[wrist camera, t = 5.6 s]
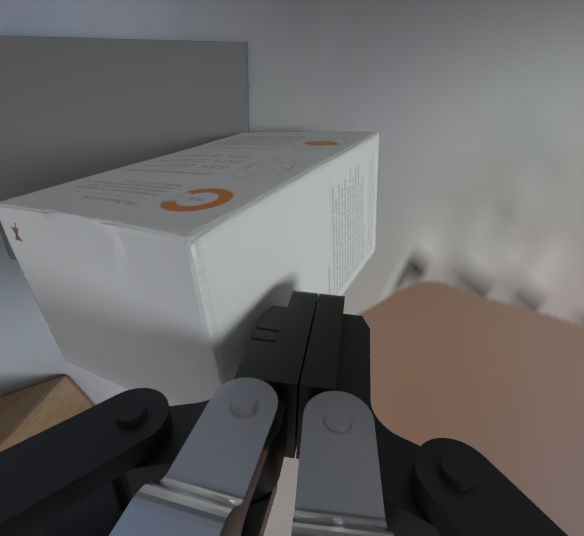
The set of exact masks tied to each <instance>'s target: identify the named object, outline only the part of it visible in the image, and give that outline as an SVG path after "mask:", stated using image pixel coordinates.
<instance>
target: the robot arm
mask: <svg viewBox="0 0 584 536" xmlns="http://www.w3.org/2000/svg"><path fill="white" fill-rule="evenodd" d="M344 299H345V296H338V295H330V294H321V293H320V294H319V295H318V293H312V292H303V291H294V290H293V292H292V295H291V298H290V300H289V303H288V306H287V307H282V306H274V305H273V306H272V307H270V308H269V309H268V310H267V311H265V312H264V313H263V314H262V315H261V317H260V319H259V321H258V324H257V326H256V330H255V331H254V333H253V335H252V338H251V340H250V342H249V344H248V347H247V349H246V351H245V353H244V356H243V358H242V360H241V363H240V365H239V367H238V370H237V372H236V374H235V376H234V379H233V380H231V381H228V382H227V383H225V384H223V385H222V386H220V387H219V388H218V389H217V390H216V391H215V393H214V394H213V395H212V397H211V399H209V400H206V401H203V402H198V403H191V404H183V405H174V406H169V403H168V400H167V398H166V397H165V396H164V394H163V393H161V392H159V391H157V390H155V389H151V388H136V389H131V390H128V391H125V392H122V393H120V394H118V395H116V396H114V397H112V398H109V399H107V400H105V401H103V402H101V403H99V404H97V405H95V406H93V407H91V408H89V409H87V410H85V411H83V412H81V413H79V414H77V415H75V416H73V417H71V418H69V419H67V420H64V421H62V422H60V423H58V424H56V425H54V426H52V427H50V428H48V429H46V430H44V431H42V432H40V433H38V434H36V435H34V436H32V437H30V438H28V439H26V440H24V441H22V442H19V443H17V444H15V445H13V446H11V447H9V448H7V449H5V450H3V451H1V452H0V536H263V535H264V532H265V528H266V525H267V522H268V518H269V515H270V511H271V508H272V505H273V501H274V498H275V495H276V491H277V482H278V480H279V477H280V472H281V467H282V463H283V459H284V457H290V458H294V457H295V452H296V446H297V453H296V458H297V459H299V468H298V479H297V490H296V500H295V511H294V518H293V524H292V533H291V536H568V535H567V534H566V533H565V532H563V531H562V530H561V529H560V528H559V527H558V526H557V525H556V524H555V523H554V522H553V521H552V520H551V519H550V518H549V517H548V516H546V515H545V514H544V513H543V512H542V511H541V510H540V509H539V508H538V507H537V506H536V505H535V504H534V503H533V502H532V501H531V500H530V499H528V498H527V497H526V496H525V495H524V494H523V493H522V492H521V491H520V490H519V489H518V488H517V487H516V486H515V485H514V484H513V483H511V481H510V480H508V479H507V478H506V477H505V476H504V475H503V474H502V473H501V472H500V471H499V470H498V469H497V468H496V467H495V466H494V465H492V464H491V463H490V462H489V461H488V460H487V459H486V458H485V457H484V456H483V455H482V454H481V453H479V452H478V451H477V450H475V449H474V448H472V447H471V446H469V445H467V444H465V443H463V442H460V441H457V440H454V439H449V438H436V439H431V440H429V441H427V442H425V443H424V444H422V446H419V445H417V444H415V443H412V442H410V441H408V440H406V439H404V438H401V437H399V436H398V435H396V434H394V433H392V432H391V431H389V430H388V429H387V428H386V427H385V426H383V425H382V423H381V422H380V421H379V420H378V419H377V417H376V416H375V414H374V412H373V410H372V407H371V401H370V328H369V327H368V325H367V324H366V322H365V320H364V319H363V317H362V316H357V315H349V314H343V309H344Z"/></svg>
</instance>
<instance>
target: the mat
mask: <svg viewBox="0 0 584 536" xmlns="http://www.w3.org/2000/svg"><path fill="white" fill-rule="evenodd" d="M243 132H249V102H248V57H247V43H246V42H212V41H175V40H138V39H101V38H65V37H28V36H0V202H1V201H4V200H8V199H11V198H14V197H18V196H22V195H26V194H29V193H32V192H36V191H39V190H43V189H46V188H50V187H53V186H57V185H60V184H64V183H67V182H71V181H74V180H78V179H82V178H85V177H89V176H92V175H96V174H99V173H102V172H106V171H109V170H113V169H117V168H120V167H124V166H127V165H131V164H135V163H138V162H142V161H146V160H150V159H154V158H157V157H161V156H165V155H168V154H172V153H175V152H179V151H183V150H186V149H190V148H193V147H197V146H200V145H203V144H206V143H209V142H212V141H216V140H219V139H223V138H226V137H230V136H233V135H237V134H239V133H243ZM0 231H1V234H2V236H3V239H4V242H5V245H6V247H7V250H8V253H9V256H10V258H11V259H16V256H15V254H14V252H13V250H12V248H11V245H10V243H9V241H8V238H7V236H6V234H5V231H4V229H3V226H2V224H1V222H0Z"/></svg>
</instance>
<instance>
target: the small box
mask: <svg viewBox="0 0 584 536" xmlns="http://www.w3.org/2000/svg"><path fill="white" fill-rule="evenodd" d="M378 150H379V134H378V133H377V132H243V133H239V134H237V135H233V136H230V137H226V138H223V139H219V140H216V141H212V142H209V143H206V144H203V145H200V146H197V147H193V148H190V149H186V150H183V151H179V152H175V153H172V154H168V155H165V156H161V157H157V158H154V159H150V160H146V161H142V162H138V163H135V164H131V165H127V166H124V167H120V168H117V169H113V170H109V171H106V172H102V173H99V174H96V175H92V176H89V177H85V178H82V179H78V180H74V181H71V182H67V183H64V184H60V185H57V186H53V187H50V188H46V189H43V190H39V191H36V192H32V193H29V194H26V195H22V196H18V197H14V198H11V199H8V200H4V201H1V202H0V222H1V224H2V226H3V229H4V231H5V234H6V236H7V238H8V241H9V243H10V245H11V248H12V250H13V252H14V254H15V256H16V259H17V261H18V263H19V265H20V267H21V269H22V272H23V274H24V276H25V278H26V280H27V282H28V284H29V287H30V289H31V291H32V293H33V295H34V297H35V299H36V302H37V304H38V306H39V308H40V310H41V312H42V314H43V316H44V318H45V320H46V322H47V324H48V326H49V328H50V330H51V332H52V334H53V336H54V338H55V340H56V342H57V344H58V346H59V348H60V350H61V352H62V354H63V356H64V358H65V360H66V361H67V362H70V363H72V364H74V365H77V366H79V367H81V368H84V369H86V370H88V371H90V372H92V373H94V374H97V375H99V376H101V377H103V378H105V379H107V380H110V381H112V382H114V383H116V384H118V385H120V386H122V387H125V388H127V389H129V390H131V389H136V388H151V389H155V390H157V391H159V392H161V393H163V394H164V396H165V397H166V398H167V400H168V403H169V406H174V405H183V404H191V403H198V402H203V401H206V400H209V399H211V397H212V395H213V394H214V393H215V391H216V390H217V389H218V388H219V387H220V386H222V385H223V384H225V383H227V382H228V381H231V380H233V379H234V376H235V374H236V372H237V370H238V367H239V365H240V363H241V360H242V358H243V356H244V353H245V351H246V349H247V347H248V344H249V342H250V340H251V338H252V335H253V333H254V331H255V330H256V326H257V324H258V321H259V319H260V317H261V315H262V314H263V313H264V312H265V311H267V310H268V309H269V308H270V307H272V306H273V305H274V306H282V307H287V306H288V303H289V300H290V298H291V295H292V292H293V290H294V291H303V292H312V293H318V295H319V294H320V293H321V294H330V295H338V296H342V295H343V294H344V292H345V291H346V290H347V288H348V287H349V285H350V284H351V283H352V281H353V280H354V279H355V277H356V276H357V275H358V273H359V272H360V270H361V269H362V268H363V266H364V265H365V264H366V262H367V261H368V260H369V258H370V257H371V256H372V254H373V253H374V251H375V235H376V203H377V179H378Z"/></svg>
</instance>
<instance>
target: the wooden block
mask: <svg viewBox="0 0 584 536" xmlns="http://www.w3.org/2000/svg"><path fill="white" fill-rule="evenodd" d="M93 406H95V405H94V404H93V403H92V402H91V401H90V400H89V398H88V397H87V396H86V395H85V394H84V393H83V392H82V391H81V390H80V388H79V387H78V386H77V385H76V384H75V383H74V382H73V381H72V380H71V379H70V377H68V376H61V377H58V378H55V379H52V380H49V381H46V382H43V383H40V384H37V385H34V386H31V387H28V388H25V389H22V390H19V391H16V392H13V393H10V394H8V395H5V396H2V397H0V452H1V451H3V450H5V449H7V448H9V447H11V446H13V445H15V444H17V443H19V442H22V441H24V440H26V439H28V438H30V437H32V436H34V435H36V434H38V433H40V432H42V431H44V430H46V429H48V428H50V427H52V426H54V425H56V424H58V423H60V422H62V421H64V420H67V419H69V418H71V417H73V416H75V415H77V414H79V413H81V412H83V411H85V410H87V409H89V408H91V407H93Z"/></svg>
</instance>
